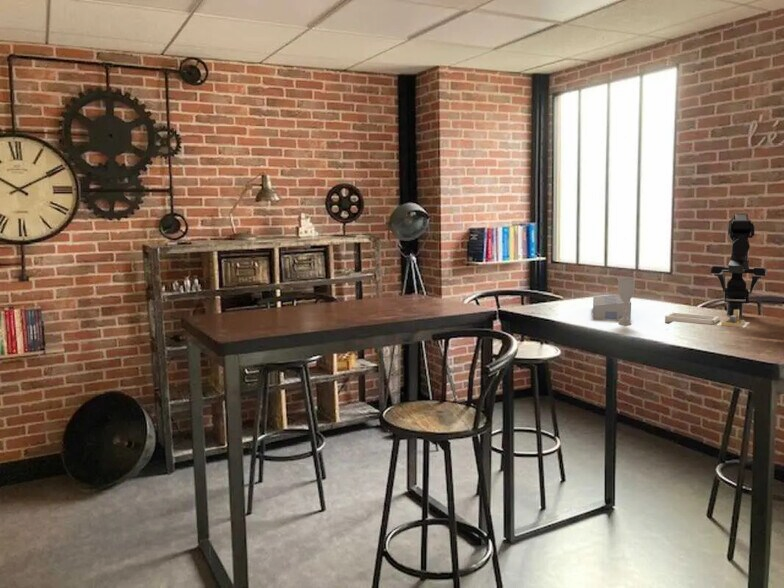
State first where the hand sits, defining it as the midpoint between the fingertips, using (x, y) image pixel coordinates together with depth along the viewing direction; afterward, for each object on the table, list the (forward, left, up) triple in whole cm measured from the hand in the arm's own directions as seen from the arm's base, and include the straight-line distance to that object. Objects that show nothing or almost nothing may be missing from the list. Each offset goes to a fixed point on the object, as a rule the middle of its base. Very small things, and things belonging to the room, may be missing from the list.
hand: (737, 292), depth 254 cm
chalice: (+23, -35, -13) cm, 44 cm away
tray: (+5, -15, -12) cm, 20 cm away
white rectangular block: (+5, 0, -12) cm, 14 cm away
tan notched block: (+5, 0, -11) cm, 13 cm away
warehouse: (+1, -48, -13) cm, 50 cm away
